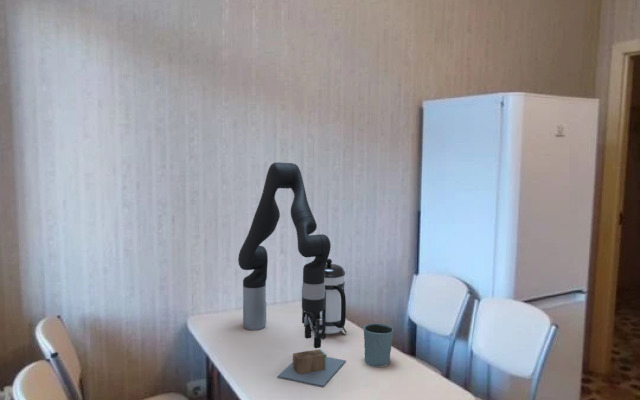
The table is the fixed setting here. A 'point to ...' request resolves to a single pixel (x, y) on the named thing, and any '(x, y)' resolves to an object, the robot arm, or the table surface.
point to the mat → (314, 373)
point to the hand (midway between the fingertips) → (312, 342)
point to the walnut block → (309, 361)
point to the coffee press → (334, 299)
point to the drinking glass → (377, 344)
